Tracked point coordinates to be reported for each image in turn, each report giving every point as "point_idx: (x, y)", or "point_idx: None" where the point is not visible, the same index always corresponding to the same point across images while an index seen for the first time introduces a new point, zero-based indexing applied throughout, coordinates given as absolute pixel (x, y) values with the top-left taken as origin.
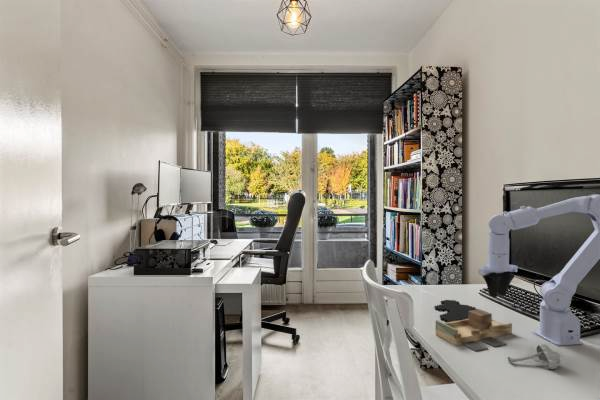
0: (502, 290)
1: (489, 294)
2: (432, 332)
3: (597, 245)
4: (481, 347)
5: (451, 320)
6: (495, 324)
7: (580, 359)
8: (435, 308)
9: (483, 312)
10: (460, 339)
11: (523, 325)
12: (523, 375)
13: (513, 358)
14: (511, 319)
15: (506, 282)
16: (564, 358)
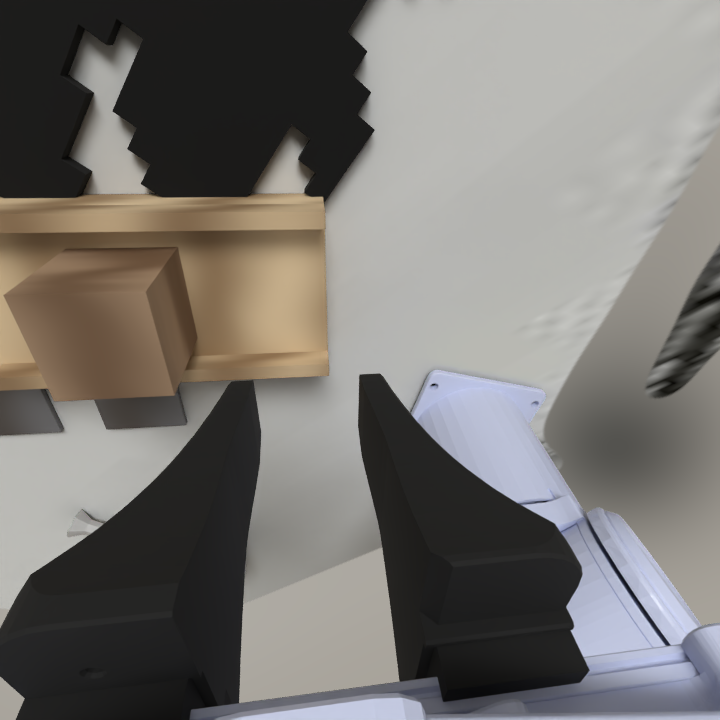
0: (368, 451)
1: (227, 388)
2: None
3: None
4: (27, 422)
5: (17, 24)
6: (271, 301)
7: (348, 538)
8: None
9: (126, 359)
10: None
11: (493, 288)
12: None
13: (87, 531)
14: (538, 187)
15: (388, 575)
16: (306, 527)
